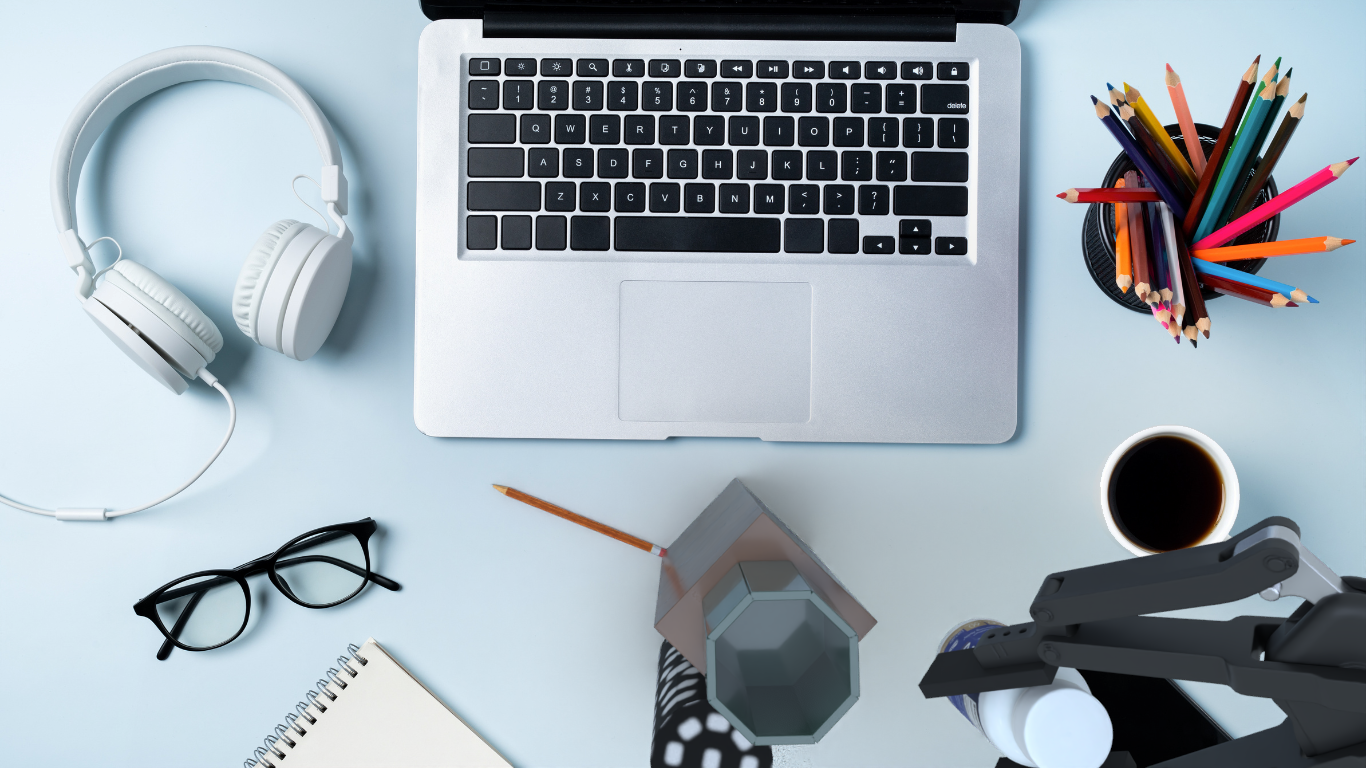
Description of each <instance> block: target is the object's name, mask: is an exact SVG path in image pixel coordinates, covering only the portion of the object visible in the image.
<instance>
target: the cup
mask: <svg viewBox="0 0 1366 768" xmlns="http://www.w3.org/2000/svg"><path fill="white" fill-rule="evenodd" d="M702 637H703V659H704V669H705V680H706V691H707V700H708V701H709V703H710V704H711V705H712V706H713V707H714V708H715V709H716V710H717V711H718V712H719V713H720V714H721V715H722V716H723V717H724V718H725V719H726V720H727V721H728V722H729V723H730V724H731V725H732V726H733V727H734V728H735V729H736V730H737V731H739V732H740V733H741V734H742V735H743V736H744V737H745V738H746V739H747V740H748V741H749V742H750V743H751V744H754V745H755V746H761V745H771V746H797V745H799V746H800V745H815V744H819V742H820V741H821V740H823V738H824V737H825V736H826V735H827V734H828V733H829V732H830V731H831V730H832V729H833V727H834V726H835V725H836V724H837V723H838V722H839V721H840V720H841V719H842V718H843V717H844V716H845V715H846V714H847V712H849V710H850V709H851V708H853V706H854V705H855V704H856V703H857V702H858V701H859V699H860V697H861V685H860V684H861V683H860V681H861V680H860V679H861V678H860V649H859V647H860V646H859V643H860V642H859V643H858V635H857V632H856V631H855V630H854V629H853V627H852V626H851V625H850V623H849V622H848V621H847V620H846V618H845V617H844V616H843V615H842V613H841V612H840V611H839V609H838V608H837V607H836V606H835V604H834V603H833V602H832V601H831V599H830V598H829V597H828V595H826V594H825V593H824V592H823V591H822V590H821V589H820V588H819V587H818V586H817V585H816V584H815V583H814V582H813V581H812V580H811V579H810V578H809V577H808V576H807V575H806V574H805V573H804V572H803V571H802V570H800V569H799V568H798V567H797V566H796V565H795V564H794V563H793V562H792V561H791V562H790V560H779V561H740V562H739V563H736V564H735V565H734V566H733V567H732V568H731V569H730V571H729V572H728V573H727V574H726V575H725V576H724V577H723V578H722V579H721V580H720V581H719V582H718V583H717V584H716V585H715V586H714V587H713V588H712V590H711V591H710V592H709V593H708V594H707V595H706V596H705V597H704V598H703V601H702Z"/></svg>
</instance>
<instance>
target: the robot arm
mask: <svg viewBox="0 0 1366 768" xmlns="http://www.w3.org/2000/svg"><path fill="white" fill-rule="evenodd" d="M1301 535H1302V532H1301V529H1300V526H1299V525H1298V524H1297V522H1296V521H1294V520H1292V519H1291V518H1289V517H1286V516H1282V515H1272V516H1269V517H1265V518H1264V519H1262V520H1259V522H1257V523H1255V524H1253V525H1251V526H1250V527H1247V528H1245V529H1243V530H1242V531H1241V532H1239V533H1237V534H1235V535H1233V536H1231V537H1230V538H1228V539H1226V540H1224V541H1217V542H1213V543H1207V544H1202V545H1201V544H1200V545H1197V546H1190V547H1185V548H1179V549H1177V550H1176V549H1175V550H1170V551H1163V552H1158V553H1153V554H1147V555H1143V556H1137V557H1132V558H1127V559H1121V560H1116V561H1110V562H1106V563H1100V564H1094V565H1089V566H1085V567H1079V568H1073V569H1068V570H1061V571H1057V572H1056V571H1055V572H1051V573H1049V574H1047V575H1046V576H1045V578H1044V580H1043V582H1042V583H1041V585H1040V587H1039V589H1038V591H1037V593H1036V595H1035V597H1034V598H1033V601H1032V602H1031V604H1030V606H1029V611H1028V612H1029V616H1030V618H1031V619H1032V620H1033V621H1027V622H1022V623H1021V622H1020V623H1016V624H1010V625H1007V626H1004V627H1001V628H1000V627H998V628H993V629H989V630H988V631H986V632H985V633H984V634H982V636H981V638H980V640H979V641H978V643H977V645H976V646H975V647H974V648H968V649H962V650H956V651H949V652H943V653H938V655H937V656H936V655H935V657H936V658H935V657H934V660H933V661H932V662H931V664H930V666H929V667H928V669H927V671H926V672H925V673H924V675H923V677H922V678H921V680H920V681H919V683H918V685H917V686H918V688H919V690H920V691H921V693H922V695H923V697H924V698H925V700H929V699H937V698H947V696H956V695H964V694H973V693H982V692H990V691H999V690H1008V689H1017V688H1025V687H1034V686H1043V685H1051V684H1052V683H1053V680H1054V678H1055V676H1056V673H1057V671H1058V669H1059V667H1067V668H1075V669H1076V670H1077V669H1078V670H1086V671H1095V672H1103V673H1112V674H1113V673H1114V674H1123V675H1129V676H1130V675H1131V676H1132V675H1133V676H1140V677H1151V678H1158V679H1167V680H1175V681H1176V680H1178V681H1186V682H1195V683H1204V684H1213V685H1214V684H1215V685H1222V686H1228V687H1229V688H1230V689H1232V690H1233V691H1234V693H1237V694H1239V695H1241V696H1244V697H1245V696H1246V697H1254V698H1263V699H1270V700H1272V702H1273V703H1274V704H1275V705H1276V706H1277V707H1278V708H1279V709H1280V710H1281V711H1282V712H1283V713H1284V714H1285V715H1286V717H1285V718H1284V719H1283V721H1282V722H1281V723H1279V724H1278V725H1274V726H1271V727H1269V728H1265V729H1262V730H1259V731H1257V732H1253V733H1250V734H1246V735H1243V736H1240V737H1238V738H1234V739H1232V740H1228V741H1225V742H1221V743H1218V744H1216V745H1212V746H1209V747H1206V748H1202V749H1199V750H1197V751H1194V752H1190V753H1187V754H1184V755H1181V756H1178V757H1175V758H1171V759H1168V760H1164V761H1161V762H1159V763H1155V764H1153V765H1149V766H1147V767H1146V768H1366V577H1364V576H1363V577H1362V576H1358V575H1357V576H1356V575H1341V576H1339V574H1337V573H1336V572H1335V571H1334V570H1332V569H1331V568H1330V567H1329V566H1328V565H1327V564H1325V562H1323V561H1322V560H1321V559H1320V558H1318V556H1317V555H1315V553H1313V552H1311V550H1309V549H1308V548H1307V547H1306V546H1305V545H1304V544H1303V543H1302V542H1301V538H1302V537H1301ZM1257 594H1258V595H1259V597H1260V598H1261V599H1263V600H1264V601H1267V602H1275V601H1278V600H1279V599H1282V598H1286V597H1296V598H1301V599H1304V601H1303V602H1302V603H1301V604H1300V605H1299V606H1298V607H1297V608H1296V609H1295V610H1294V611H1293V612H1292V613H1291V614H1290V615H1289V616H1288V617H1283V616H1266V615H1265V616H1264V615H1252V614H1251V615H1250V614H1249V615H1247V614H1246V615H1244V614H1243V615H1237V616H1235V617H1233V618H1231V619H1229V620H1217V619H1216V620H1215V619H1214V620H1213V619H1199V618H1184V617H1183V618H1181V617H1168V616H1167V617H1166V616H1151V614H1159V613H1166V612H1174V611H1180V610H1181V611H1182V610H1188V609H1196V608H1204V607H1211V606H1218V605H1224V604H1229V603H1235V602H1238V601H1241V600H1244V599H1248V598H1250V597H1252V596H1256V595H1257ZM1263 653H1264V654H1263ZM1262 654H1263V660H1261V655H1262ZM994 768H1034V767H1028V766H1025V765H1022V764H1019V763H1017V762H1015V761H1013V760H1011V759H1009V758H1008V757H1006V756H999V757H998V759H997V761H996V764H995V766H994ZM1099 768H1137V763H1136V762H1135V760H1134V758H1133V757H1132V755H1131V753H1130V751H1129V750H1120V751H1119V750H1118V751H1110V752H1109V754H1108V756H1107V758H1106V759H1105V761H1104V763H1103V764H1102V765H1101V766H1100V767H1099Z"/></svg>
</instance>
